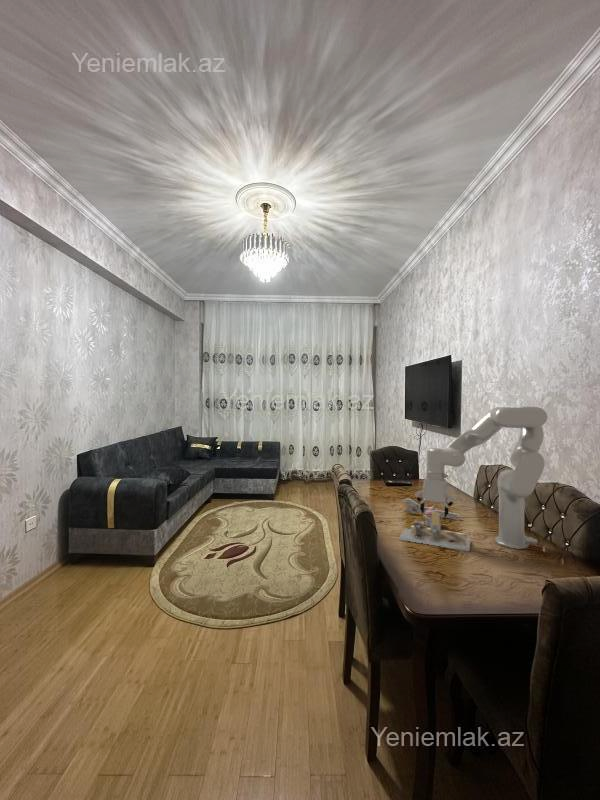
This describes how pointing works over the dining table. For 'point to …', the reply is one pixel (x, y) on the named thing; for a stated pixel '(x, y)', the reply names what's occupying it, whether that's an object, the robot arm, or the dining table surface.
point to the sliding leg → (435, 523)
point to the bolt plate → (435, 540)
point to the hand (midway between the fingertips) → (434, 514)
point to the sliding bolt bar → (421, 529)
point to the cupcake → (429, 516)
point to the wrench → (416, 508)
